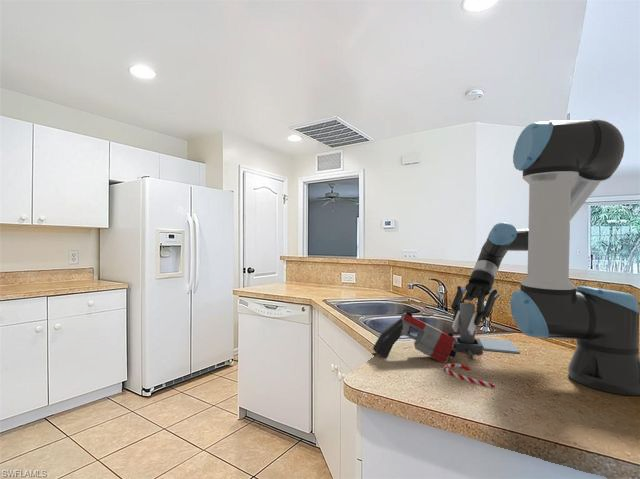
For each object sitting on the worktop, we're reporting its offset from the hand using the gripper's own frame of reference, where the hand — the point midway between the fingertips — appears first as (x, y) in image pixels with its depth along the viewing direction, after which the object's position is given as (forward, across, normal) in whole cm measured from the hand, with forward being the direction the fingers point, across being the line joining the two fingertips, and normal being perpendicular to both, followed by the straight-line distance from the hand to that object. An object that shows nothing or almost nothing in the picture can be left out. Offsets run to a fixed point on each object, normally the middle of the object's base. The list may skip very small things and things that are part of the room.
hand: (462, 330), depth 105 cm
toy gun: (+17, +7, +7) cm, 19 cm away
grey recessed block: (+4, -2, -5) cm, 7 cm away
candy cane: (+18, -10, +7) cm, 22 cm away
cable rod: (0, 0, -5) cm, 5 cm away
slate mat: (-5, -6, -14) cm, 16 cm away
